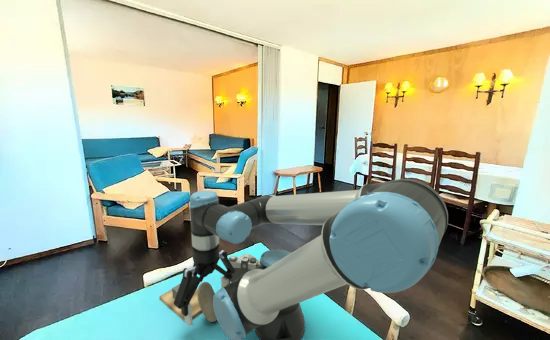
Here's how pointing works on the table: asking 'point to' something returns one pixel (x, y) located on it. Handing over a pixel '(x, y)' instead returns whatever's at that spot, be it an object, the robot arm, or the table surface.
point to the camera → (243, 265)
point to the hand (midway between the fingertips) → (208, 308)
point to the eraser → (175, 291)
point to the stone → (206, 301)
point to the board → (169, 301)
